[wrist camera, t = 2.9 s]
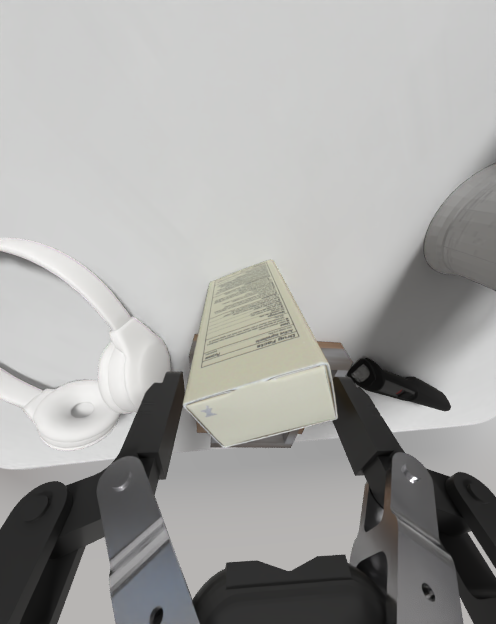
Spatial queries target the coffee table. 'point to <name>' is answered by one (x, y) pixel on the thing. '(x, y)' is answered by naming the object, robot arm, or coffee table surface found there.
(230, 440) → the skincare box
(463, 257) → the glass holder
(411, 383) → the electric trimmer
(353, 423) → the robot arm
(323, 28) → the coffee table surface
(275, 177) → the coffee table surface
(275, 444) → the keyhole board
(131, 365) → the headphones
